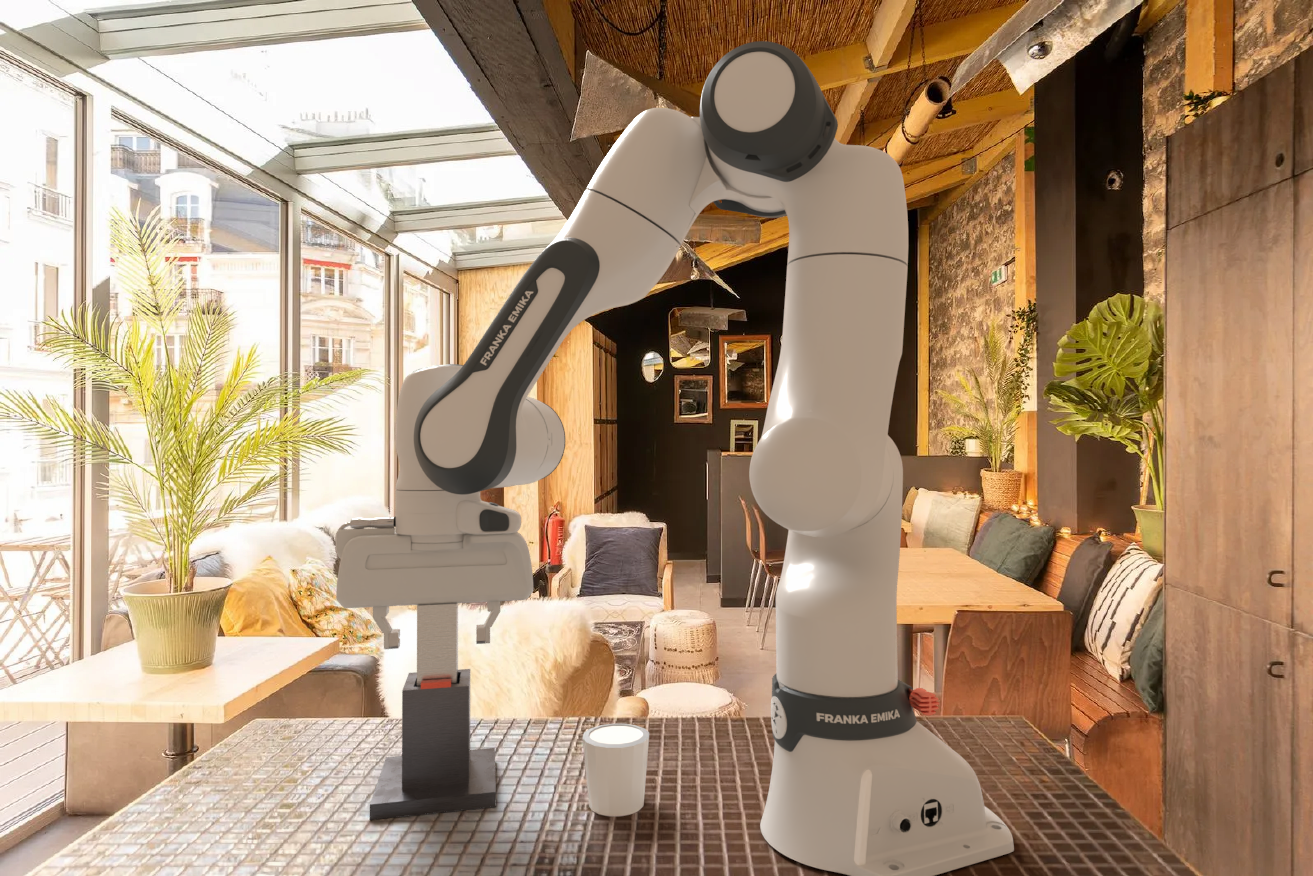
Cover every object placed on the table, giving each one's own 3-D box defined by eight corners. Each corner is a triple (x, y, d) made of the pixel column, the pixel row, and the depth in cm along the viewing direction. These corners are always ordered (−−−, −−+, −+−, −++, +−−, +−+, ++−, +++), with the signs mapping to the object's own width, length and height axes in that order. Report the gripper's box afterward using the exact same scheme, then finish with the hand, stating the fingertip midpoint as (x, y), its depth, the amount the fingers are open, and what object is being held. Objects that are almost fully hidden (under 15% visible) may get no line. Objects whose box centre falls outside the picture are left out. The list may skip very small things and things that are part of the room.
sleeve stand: (494, 760, 87) (494, 655, 88) (495, 807, 76) (495, 685, 76) (386, 770, 85) (386, 662, 85) (369, 820, 73) (370, 694, 74)
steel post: (458, 761, 83) (458, 597, 83) (456, 776, 79) (457, 604, 79) (419, 765, 82) (420, 598, 82) (415, 780, 78) (416, 605, 78)
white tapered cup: (642, 822, 72) (641, 749, 73) (573, 816, 74) (573, 744, 74) (656, 791, 79) (655, 724, 79) (593, 786, 80) (593, 720, 81)
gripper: (329, 520, 76) (328, 659, 75) (534, 516, 80) (534, 646, 80) (341, 516, 82) (340, 644, 82) (531, 512, 86) (531, 633, 86)
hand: (438, 645), depth 81 cm, fingers open, 8 cm apart
